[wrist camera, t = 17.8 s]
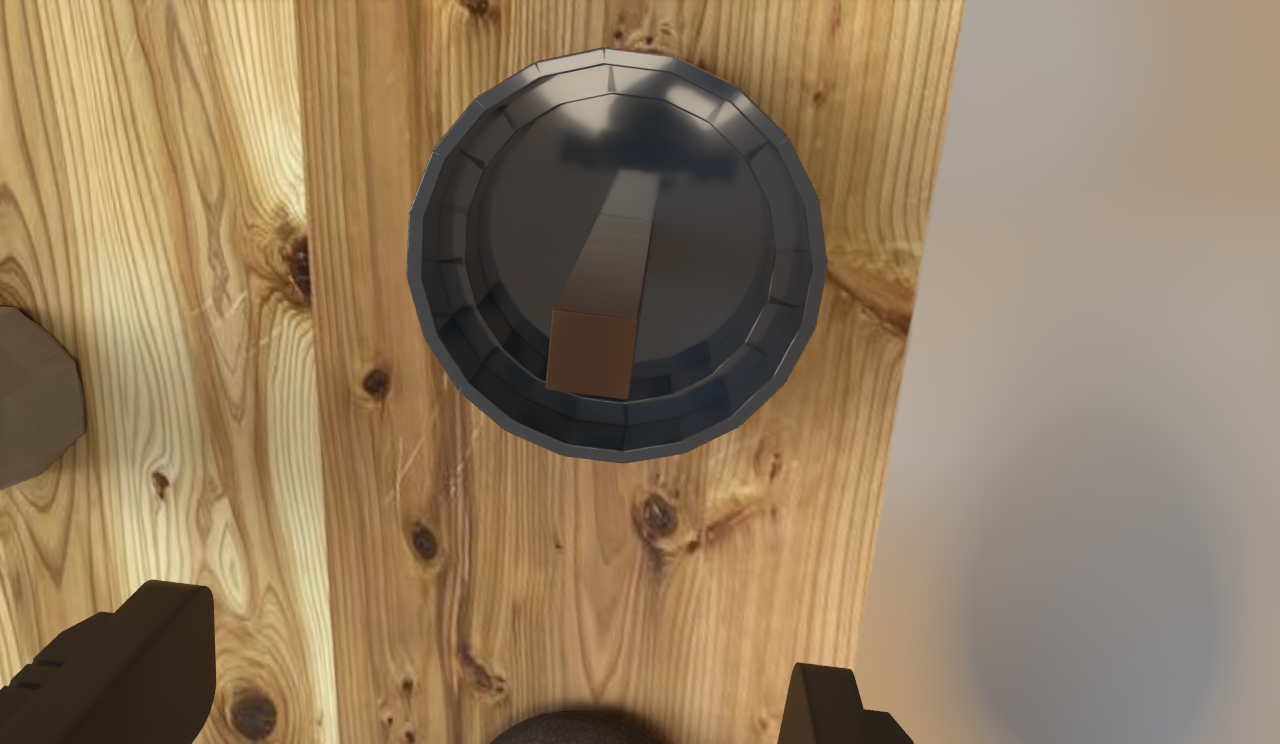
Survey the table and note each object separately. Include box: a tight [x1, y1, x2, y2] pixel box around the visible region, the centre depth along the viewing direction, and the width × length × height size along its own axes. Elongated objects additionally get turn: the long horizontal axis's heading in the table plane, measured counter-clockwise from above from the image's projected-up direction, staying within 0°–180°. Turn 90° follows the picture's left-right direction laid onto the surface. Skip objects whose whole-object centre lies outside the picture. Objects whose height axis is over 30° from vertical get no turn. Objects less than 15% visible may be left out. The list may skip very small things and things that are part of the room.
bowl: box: [407, 47, 828, 463], centre depth 40 cm, size 16×16×6 cm
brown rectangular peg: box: [545, 214, 653, 399], centre depth 34 cm, size 2×2×16 cm
